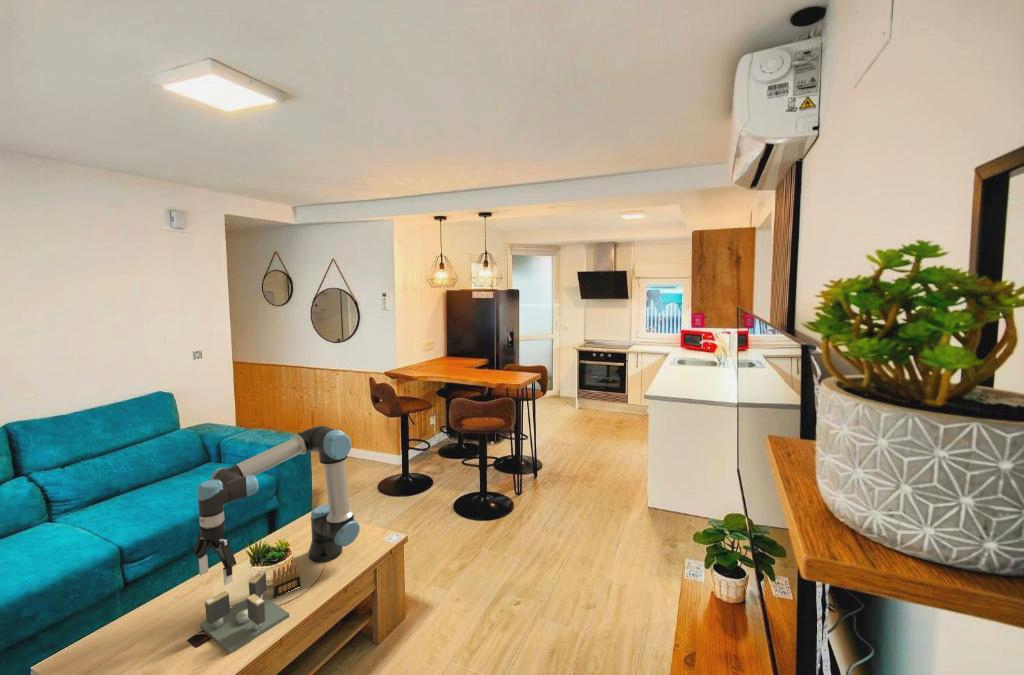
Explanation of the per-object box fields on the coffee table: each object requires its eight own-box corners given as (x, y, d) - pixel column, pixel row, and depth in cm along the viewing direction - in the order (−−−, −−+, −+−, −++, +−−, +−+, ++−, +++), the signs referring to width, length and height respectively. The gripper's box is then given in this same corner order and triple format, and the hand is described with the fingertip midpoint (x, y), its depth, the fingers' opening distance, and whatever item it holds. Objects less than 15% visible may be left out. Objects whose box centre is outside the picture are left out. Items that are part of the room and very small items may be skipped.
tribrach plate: (259, 595, 191) (258, 586, 190) (289, 616, 179) (288, 607, 178) (200, 628, 173) (199, 617, 172) (229, 654, 161) (228, 643, 160)
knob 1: (226, 618, 176) (224, 590, 174) (230, 621, 174) (229, 593, 173) (206, 630, 170) (204, 600, 168) (210, 633, 168) (208, 603, 167)
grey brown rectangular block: (257, 609, 181) (255, 581, 179) (249, 609, 181) (248, 581, 179) (267, 597, 187) (266, 570, 186) (260, 597, 188) (259, 570, 186)
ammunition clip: (274, 598, 189) (272, 571, 188) (272, 596, 191) (271, 569, 189) (301, 586, 197) (299, 560, 195) (299, 584, 198) (298, 558, 197)
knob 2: (248, 626, 172) (246, 597, 170) (256, 621, 174) (254, 592, 173) (258, 634, 168) (256, 604, 167) (266, 629, 170) (264, 600, 169)
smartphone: (185, 639, 167) (228, 614, 180) (186, 641, 167) (228, 615, 180) (196, 647, 163) (239, 621, 176) (196, 649, 163) (239, 622, 176)
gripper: (179, 521, 169) (184, 575, 171) (225, 536, 159) (228, 593, 161) (200, 511, 176) (204, 564, 178) (245, 526, 166) (248, 581, 168)
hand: (216, 578), depth 170 cm, fingers open, 13 cm apart
